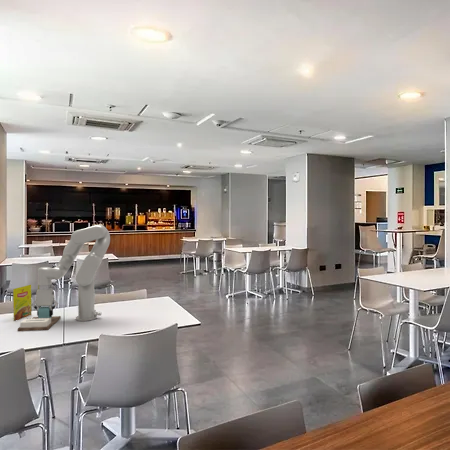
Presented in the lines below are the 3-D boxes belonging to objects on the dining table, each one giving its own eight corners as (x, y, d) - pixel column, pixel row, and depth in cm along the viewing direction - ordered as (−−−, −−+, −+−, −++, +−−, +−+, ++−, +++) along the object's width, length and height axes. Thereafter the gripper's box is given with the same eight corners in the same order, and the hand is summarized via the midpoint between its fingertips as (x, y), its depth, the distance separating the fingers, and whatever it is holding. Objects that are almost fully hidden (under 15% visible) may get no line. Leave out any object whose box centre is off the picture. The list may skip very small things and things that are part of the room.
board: (60, 318, 235) (60, 316, 234) (47, 330, 211) (47, 327, 211) (33, 319, 232) (33, 317, 232) (17, 331, 209) (17, 328, 209)
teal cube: (51, 316, 233) (51, 306, 232) (48, 319, 227) (48, 308, 227) (41, 317, 232) (41, 306, 232) (38, 319, 226) (38, 308, 226)
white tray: (51, 322, 219) (51, 317, 219) (46, 326, 212) (46, 321, 211) (25, 323, 218) (25, 318, 218) (20, 327, 210) (20, 322, 210)
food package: (14, 321, 228) (14, 288, 227) (12, 321, 228) (12, 288, 227) (32, 315, 243) (31, 284, 242) (30, 315, 243) (30, 284, 242)
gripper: (61, 285, 234) (61, 314, 234) (32, 286, 232) (32, 315, 232) (57, 288, 226) (57, 317, 227) (27, 288, 224) (27, 318, 225)
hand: (45, 316), depth 229 cm, fingers closed on teal cube, 6 cm apart
